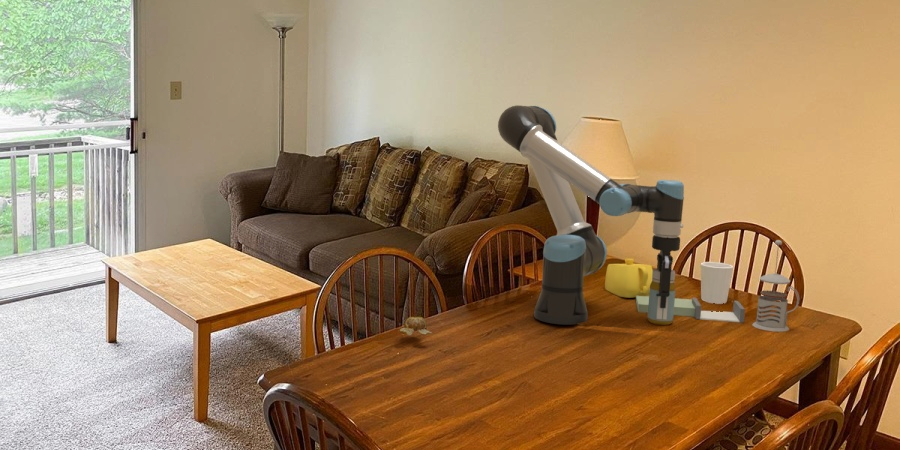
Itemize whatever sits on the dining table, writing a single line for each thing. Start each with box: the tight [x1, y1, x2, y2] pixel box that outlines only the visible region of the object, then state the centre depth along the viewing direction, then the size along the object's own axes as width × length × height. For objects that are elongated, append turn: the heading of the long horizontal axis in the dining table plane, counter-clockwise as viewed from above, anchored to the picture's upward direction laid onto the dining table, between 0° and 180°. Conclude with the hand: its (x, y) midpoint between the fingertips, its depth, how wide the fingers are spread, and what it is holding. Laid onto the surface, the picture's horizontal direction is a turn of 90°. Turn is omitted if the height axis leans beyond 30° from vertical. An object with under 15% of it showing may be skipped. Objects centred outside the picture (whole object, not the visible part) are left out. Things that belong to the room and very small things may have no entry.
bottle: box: [647, 268, 676, 326], centre depth 224 cm, size 7×7×15 cm
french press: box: [751, 239, 800, 333], centre depth 222 cm, size 10×12×25 cm
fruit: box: [399, 316, 433, 336], centre depth 204 cm, size 8×8×4 cm
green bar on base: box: [635, 296, 746, 324], centre depth 237 cm, size 30×15×4 cm, turn 80°
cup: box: [700, 261, 734, 305], centre depth 249 cm, size 10×10×13 cm
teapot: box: [604, 258, 653, 299], centre depth 255 cm, size 20×12×12 cm, turn 22°
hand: (660, 315), depth 224 cm, fingers closed on bottle, 5 cm apart
